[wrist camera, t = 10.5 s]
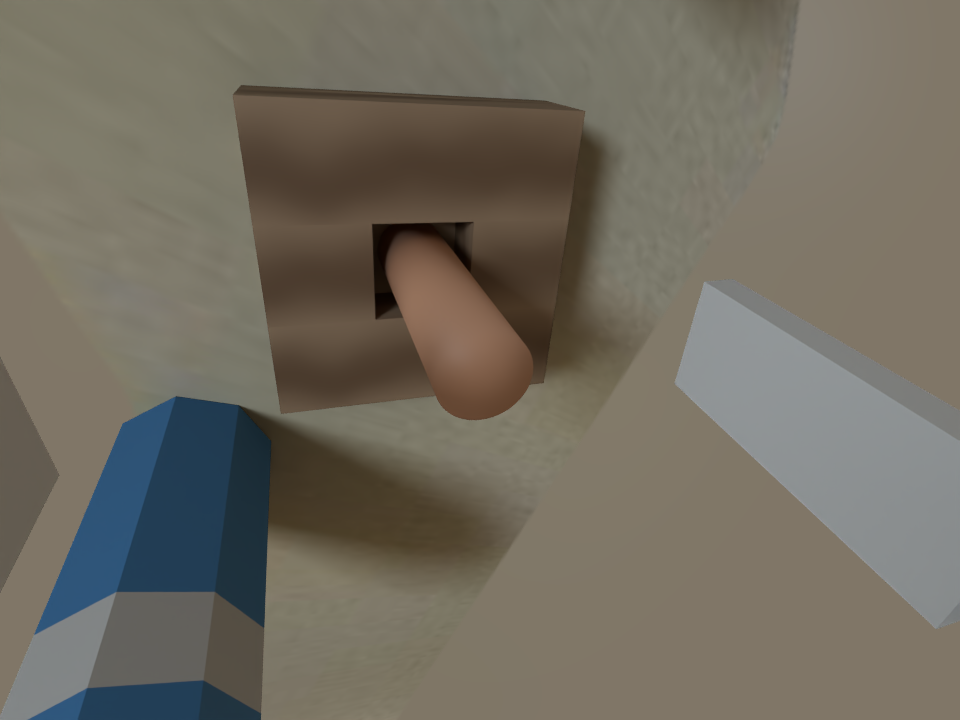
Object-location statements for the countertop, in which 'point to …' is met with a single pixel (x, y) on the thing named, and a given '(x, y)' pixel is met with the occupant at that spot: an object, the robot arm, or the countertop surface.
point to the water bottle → (161, 579)
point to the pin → (454, 324)
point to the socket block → (397, 199)
